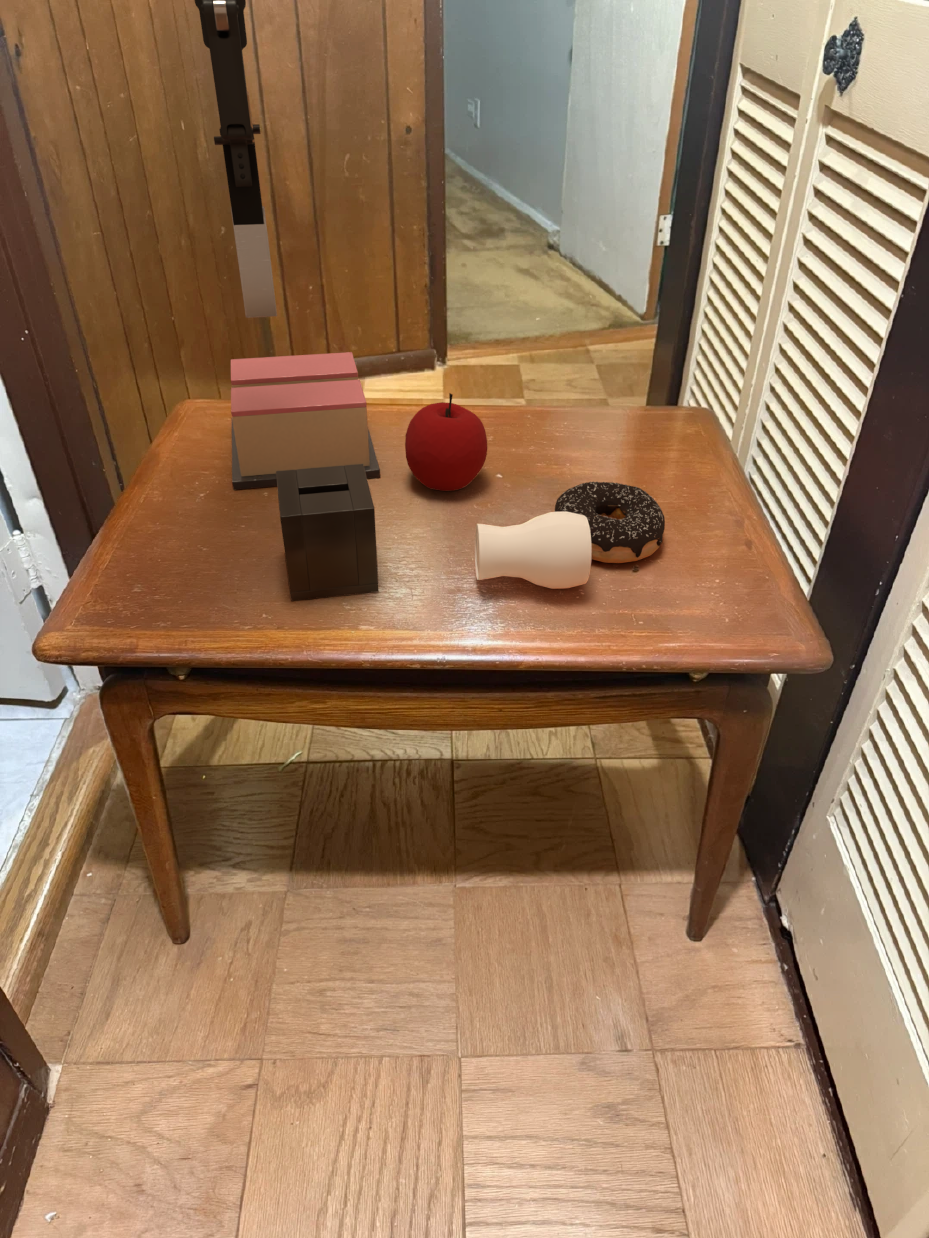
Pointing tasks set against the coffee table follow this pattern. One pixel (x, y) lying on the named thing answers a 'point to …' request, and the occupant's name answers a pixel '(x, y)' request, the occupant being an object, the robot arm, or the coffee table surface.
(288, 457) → the cake
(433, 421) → the apple
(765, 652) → the coffee table surface
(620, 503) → the donut
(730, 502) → the coffee table surface
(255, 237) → the knife
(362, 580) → the knife block
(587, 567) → the cream ceramic vase
